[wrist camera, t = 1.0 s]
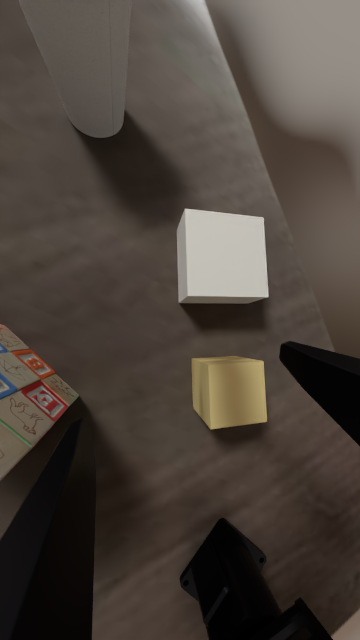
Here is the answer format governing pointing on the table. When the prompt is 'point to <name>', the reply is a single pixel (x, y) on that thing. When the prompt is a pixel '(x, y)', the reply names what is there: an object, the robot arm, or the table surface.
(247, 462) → the table surface
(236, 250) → the ivory block
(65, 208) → the table surface
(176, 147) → the table surface
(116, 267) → the table surface
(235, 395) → the mustard cube
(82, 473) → the robot arm
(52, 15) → the dixie cup
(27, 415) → the stack of blocks
